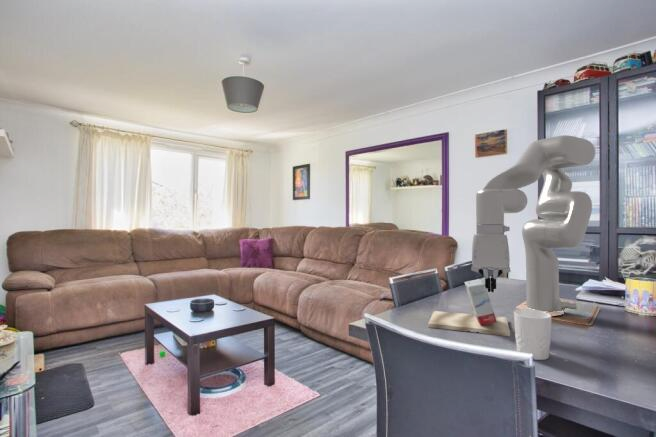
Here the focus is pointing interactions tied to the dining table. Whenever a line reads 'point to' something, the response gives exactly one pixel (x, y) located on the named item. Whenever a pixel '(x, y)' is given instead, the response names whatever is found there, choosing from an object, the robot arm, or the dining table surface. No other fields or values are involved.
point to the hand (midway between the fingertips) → (490, 291)
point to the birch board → (468, 323)
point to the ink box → (480, 302)
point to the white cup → (533, 332)
